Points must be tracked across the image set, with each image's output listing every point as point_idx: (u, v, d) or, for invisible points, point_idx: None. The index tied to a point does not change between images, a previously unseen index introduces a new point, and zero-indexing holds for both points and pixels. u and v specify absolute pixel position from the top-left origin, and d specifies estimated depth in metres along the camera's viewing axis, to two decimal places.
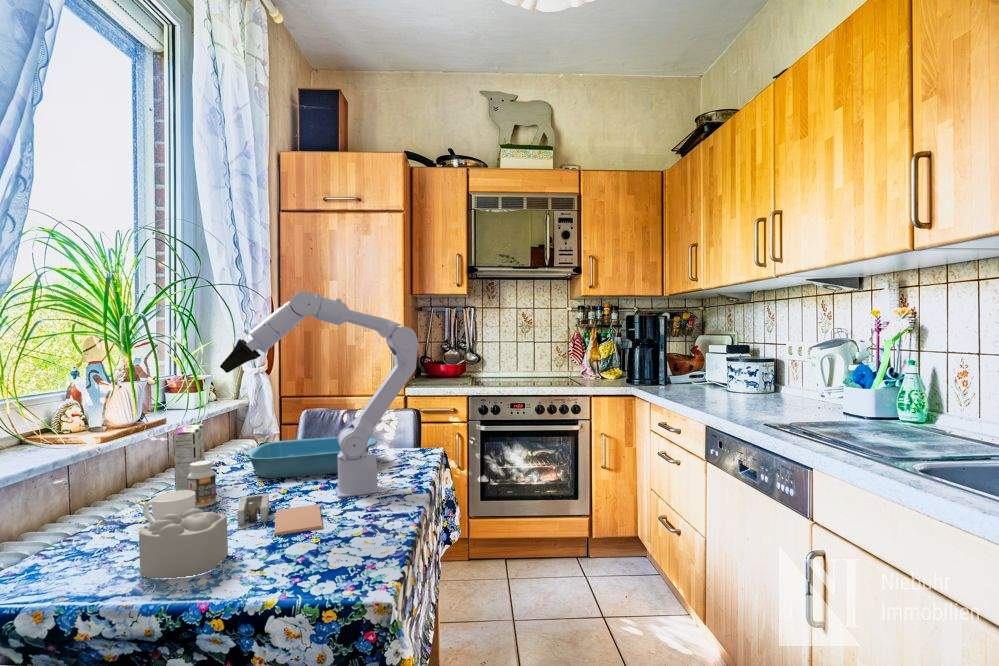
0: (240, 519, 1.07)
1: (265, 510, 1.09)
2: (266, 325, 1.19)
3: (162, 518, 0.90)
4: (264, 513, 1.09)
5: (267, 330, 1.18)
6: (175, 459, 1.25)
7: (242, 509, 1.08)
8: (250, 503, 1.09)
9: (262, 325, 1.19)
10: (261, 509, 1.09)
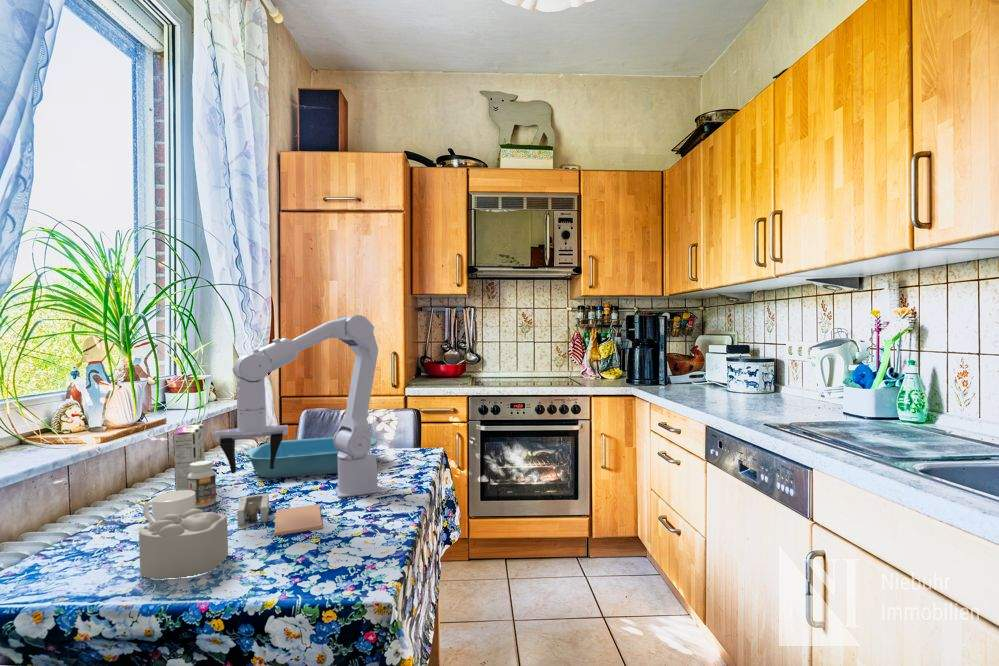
0: (240, 519, 1.07)
1: (265, 510, 1.09)
2: (263, 411, 1.13)
3: (162, 518, 0.90)
4: (264, 513, 1.09)
5: (265, 412, 1.14)
6: (175, 459, 1.25)
7: (242, 509, 1.08)
8: (250, 503, 1.09)
9: (260, 414, 1.12)
10: (261, 509, 1.09)
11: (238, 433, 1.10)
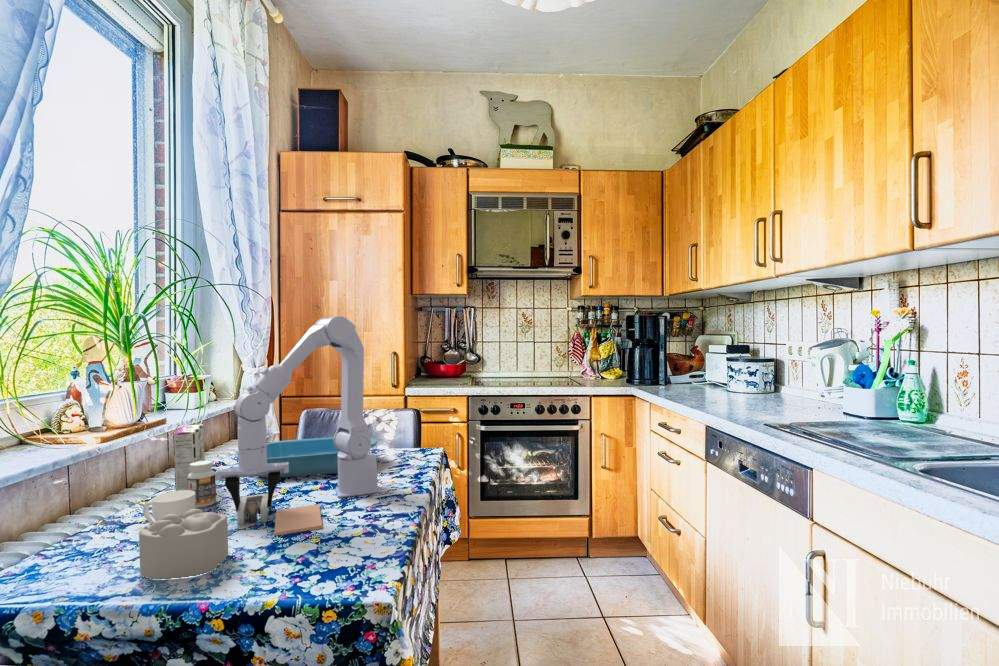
0: (240, 519, 1.07)
1: (265, 510, 1.09)
2: (264, 449, 1.13)
3: (162, 518, 0.90)
4: (264, 513, 1.09)
5: (266, 451, 1.14)
6: (175, 459, 1.25)
7: (242, 509, 1.08)
8: (250, 503, 1.09)
9: (261, 453, 1.12)
10: (261, 509, 1.09)
11: (239, 472, 1.10)
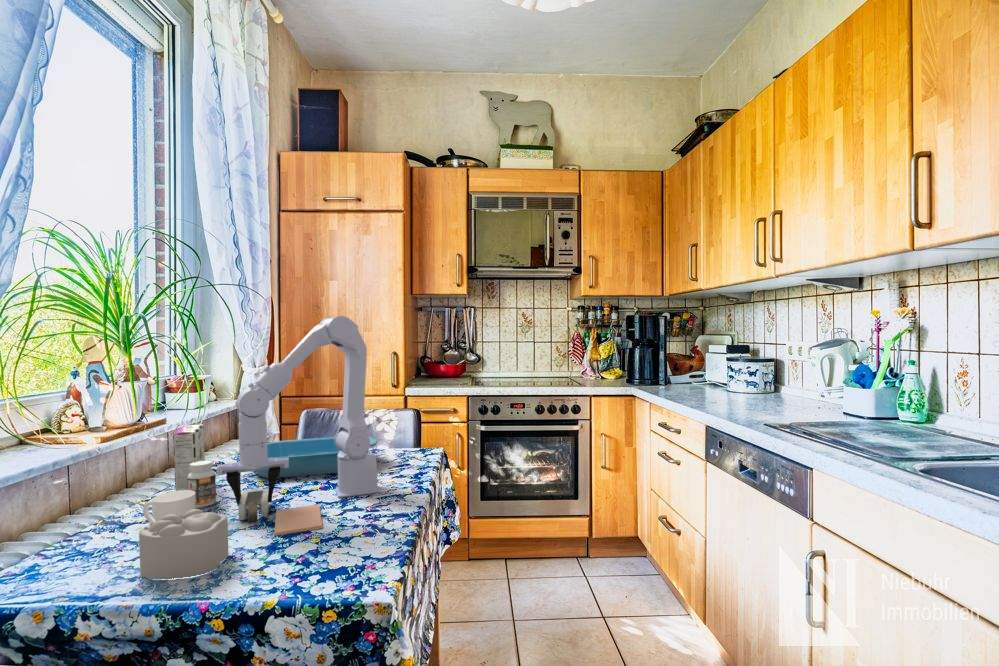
0: (241, 513, 1.09)
1: (266, 504, 1.11)
2: (264, 445, 1.15)
3: (162, 519, 0.89)
4: (265, 507, 1.11)
5: (266, 446, 1.16)
6: (175, 459, 1.25)
7: (243, 503, 1.10)
8: (250, 503, 1.09)
9: (262, 448, 1.14)
10: (262, 503, 1.11)
11: (240, 467, 1.12)
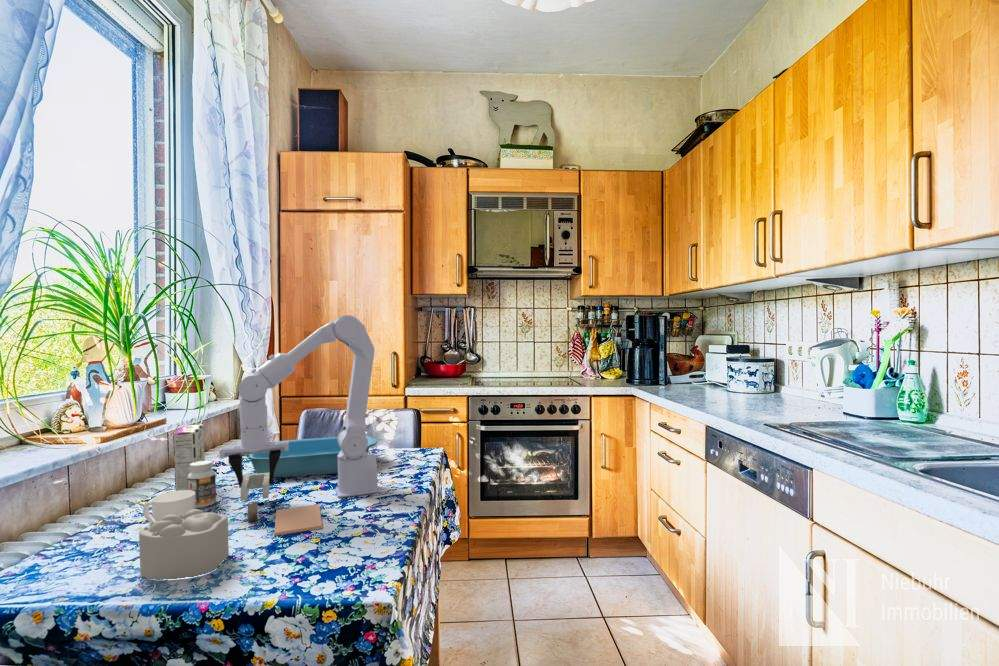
0: (243, 494, 1.13)
1: (267, 487, 1.15)
2: (265, 428, 1.19)
3: (162, 519, 0.89)
4: (266, 490, 1.15)
5: (267, 430, 1.20)
6: (175, 459, 1.25)
7: (245, 485, 1.14)
8: (250, 503, 1.09)
9: (262, 432, 1.18)
10: (263, 485, 1.15)
11: (242, 450, 1.16)
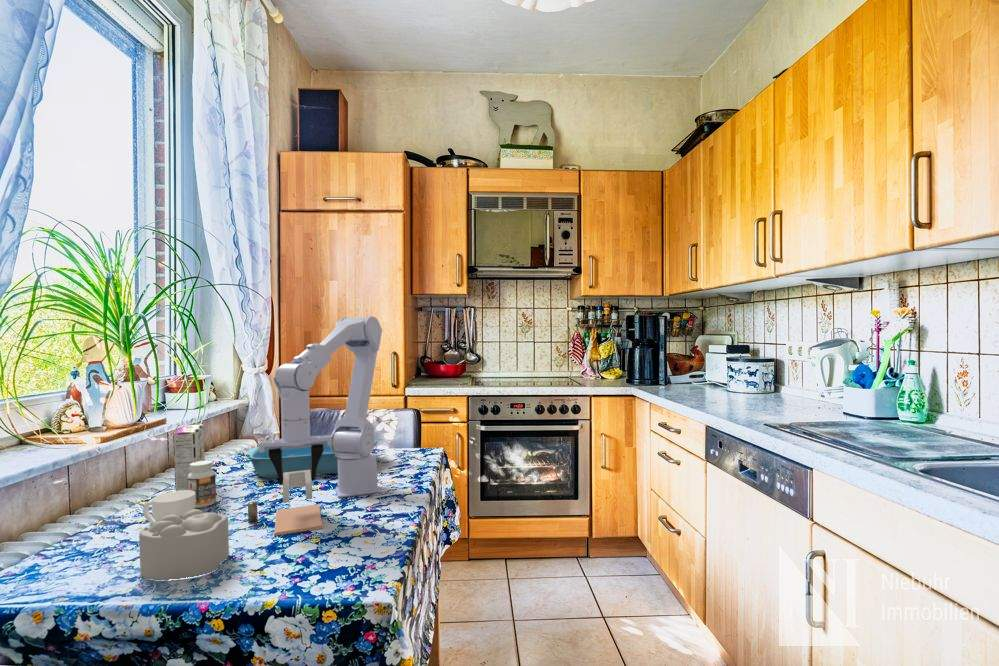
0: (285, 495, 1.04)
1: (310, 487, 1.06)
2: (307, 421, 1.10)
3: (162, 519, 0.89)
4: (309, 490, 1.06)
5: (309, 423, 1.11)
6: (175, 459, 1.25)
7: (287, 485, 1.05)
8: (250, 503, 1.09)
9: (305, 424, 1.09)
10: (306, 485, 1.06)
11: (283, 444, 1.07)
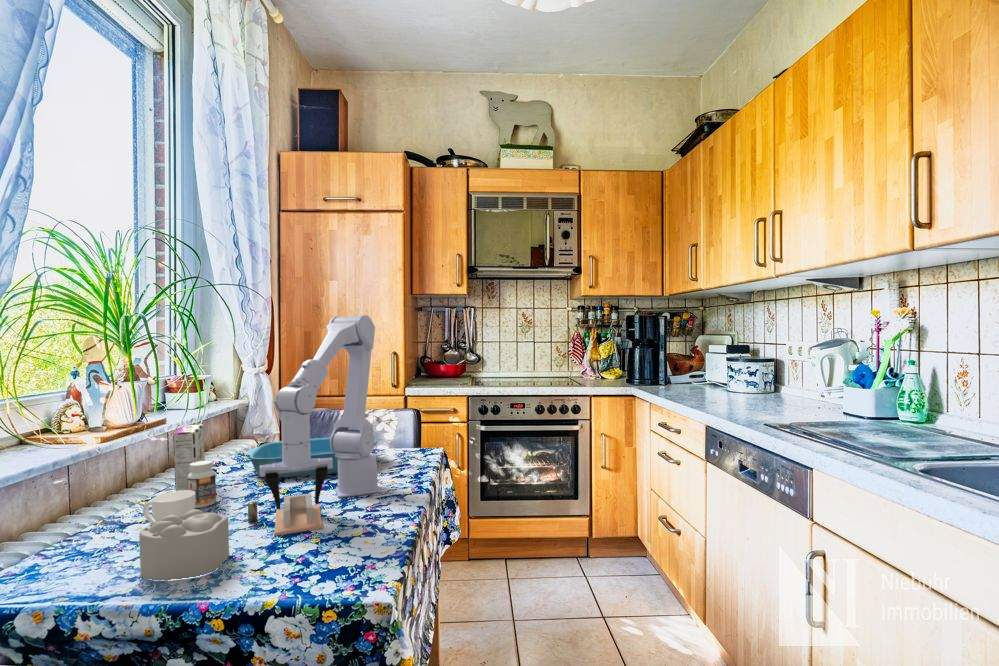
0: (286, 519, 1.04)
1: (311, 510, 1.06)
2: (308, 444, 1.10)
3: (162, 519, 0.89)
4: (310, 514, 1.06)
5: (310, 446, 1.11)
6: (175, 459, 1.25)
7: (288, 509, 1.05)
8: (250, 503, 1.09)
9: (306, 448, 1.09)
10: (307, 509, 1.06)
11: (284, 468, 1.07)
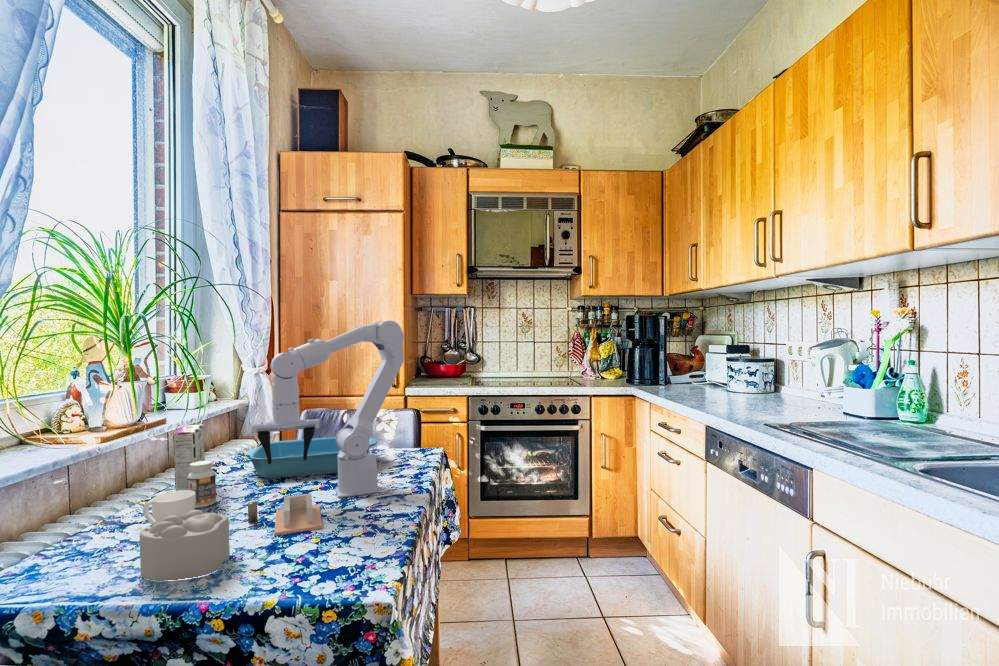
0: (286, 519, 1.04)
1: (311, 510, 1.06)
2: (297, 405, 1.20)
3: (163, 520, 0.89)
4: (310, 514, 1.06)
5: (298, 407, 1.21)
6: (175, 459, 1.25)
7: (288, 509, 1.05)
8: (250, 503, 1.09)
9: (294, 408, 1.19)
10: (307, 509, 1.06)
11: (274, 426, 1.18)
